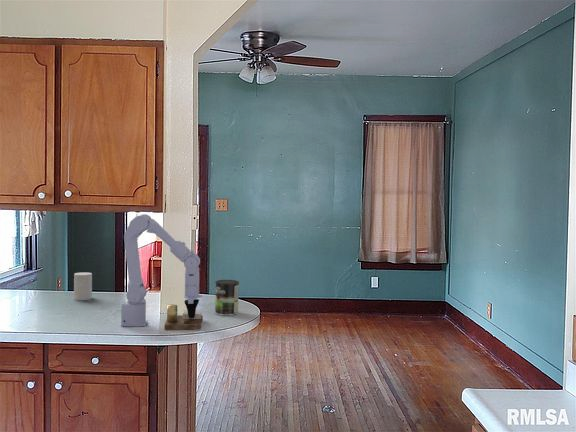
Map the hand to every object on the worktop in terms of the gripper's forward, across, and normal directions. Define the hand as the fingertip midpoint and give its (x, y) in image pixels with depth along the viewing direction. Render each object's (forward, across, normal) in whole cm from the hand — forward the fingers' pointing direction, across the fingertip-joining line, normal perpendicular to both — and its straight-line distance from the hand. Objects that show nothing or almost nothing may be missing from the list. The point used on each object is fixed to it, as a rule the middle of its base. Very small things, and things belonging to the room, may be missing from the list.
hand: (191, 317), depth 247 cm
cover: (+1, +5, 0) cm, 5 cm away
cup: (+3, +53, +55) cm, 77 cm away
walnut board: (+3, 0, +3) cm, 4 cm away
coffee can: (+3, +21, -14) cm, 26 cm away
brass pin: (+1, -3, +8) cm, 8 cm away
